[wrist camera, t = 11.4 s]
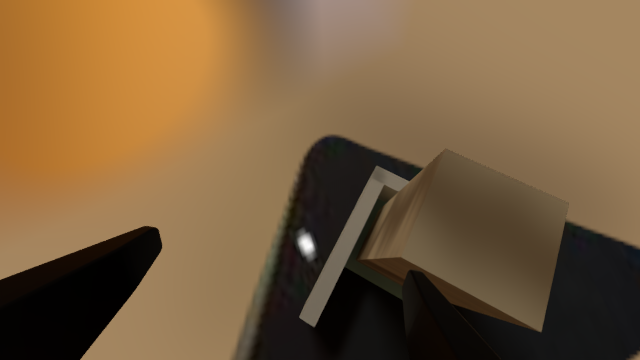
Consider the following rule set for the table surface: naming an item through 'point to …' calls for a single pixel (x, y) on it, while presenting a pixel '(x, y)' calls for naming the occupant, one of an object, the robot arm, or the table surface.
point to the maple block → (471, 238)
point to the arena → (355, 244)
